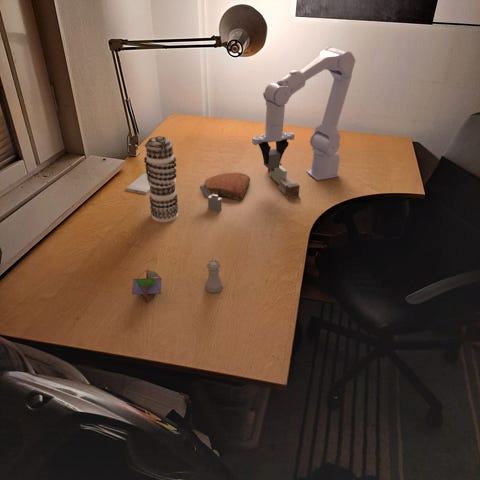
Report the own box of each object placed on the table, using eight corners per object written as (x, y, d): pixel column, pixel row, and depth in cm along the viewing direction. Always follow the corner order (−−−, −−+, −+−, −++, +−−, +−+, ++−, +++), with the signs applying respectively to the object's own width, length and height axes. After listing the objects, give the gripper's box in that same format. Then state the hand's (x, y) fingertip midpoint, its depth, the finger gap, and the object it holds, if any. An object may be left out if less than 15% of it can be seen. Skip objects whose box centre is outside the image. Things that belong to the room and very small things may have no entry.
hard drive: (143, 173, 164) (125, 187, 154) (163, 176, 162) (146, 191, 152) (143, 177, 165) (125, 191, 155) (163, 180, 163) (147, 195, 153)
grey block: (274, 162, 155) (275, 149, 152) (279, 167, 152) (280, 153, 149) (263, 164, 154) (264, 150, 151) (268, 169, 151) (269, 155, 148)
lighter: (221, 209, 145) (221, 187, 141) (219, 212, 144) (219, 189, 139) (202, 204, 148) (202, 182, 143) (200, 206, 146) (199, 184, 142)
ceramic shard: (212, 164, 162) (252, 174, 161) (209, 181, 165) (248, 191, 164) (201, 176, 149) (245, 187, 148) (198, 194, 152) (241, 205, 151)
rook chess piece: (204, 282, 114) (204, 257, 110) (222, 282, 115) (222, 256, 110) (205, 294, 111) (204, 268, 106) (223, 293, 111) (223, 267, 106)
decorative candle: (171, 225, 137) (165, 147, 123) (144, 219, 139) (135, 142, 125) (184, 211, 144) (180, 136, 130) (159, 205, 146) (152, 131, 132)
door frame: (271, 170, 171) (272, 155, 167) (299, 195, 154) (301, 179, 151) (260, 171, 169) (261, 157, 166) (288, 197, 153) (289, 182, 149)
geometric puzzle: (160, 303, 104) (159, 269, 105) (130, 304, 104) (129, 270, 104) (162, 301, 111) (162, 269, 112) (134, 302, 111) (134, 269, 111)
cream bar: (272, 175, 166) (273, 159, 163) (285, 186, 159) (286, 170, 155) (268, 176, 166) (268, 160, 162) (280, 187, 158) (281, 171, 155)
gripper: (288, 116, 150) (285, 154, 157) (248, 121, 145) (247, 160, 152) (299, 123, 144) (295, 162, 152) (258, 128, 140) (256, 168, 147)
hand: (272, 161), depth 152 cm, fingers closed on grey block, 4 cm apart
